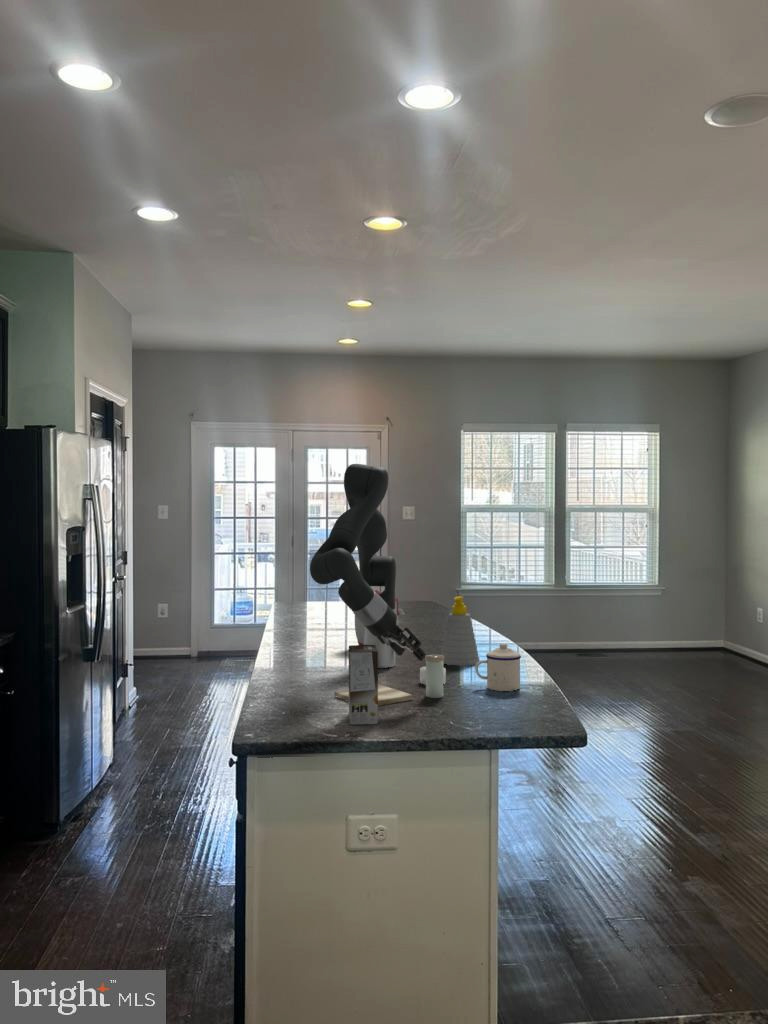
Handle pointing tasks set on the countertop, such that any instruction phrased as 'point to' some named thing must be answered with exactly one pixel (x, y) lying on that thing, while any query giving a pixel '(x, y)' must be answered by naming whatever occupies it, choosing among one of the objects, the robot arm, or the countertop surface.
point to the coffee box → (363, 684)
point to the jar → (434, 676)
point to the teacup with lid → (502, 669)
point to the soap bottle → (459, 637)
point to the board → (382, 695)
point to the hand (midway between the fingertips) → (412, 655)
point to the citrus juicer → (361, 628)
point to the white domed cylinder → (423, 675)
